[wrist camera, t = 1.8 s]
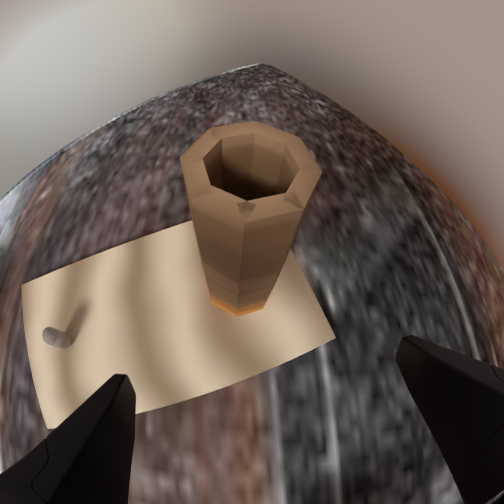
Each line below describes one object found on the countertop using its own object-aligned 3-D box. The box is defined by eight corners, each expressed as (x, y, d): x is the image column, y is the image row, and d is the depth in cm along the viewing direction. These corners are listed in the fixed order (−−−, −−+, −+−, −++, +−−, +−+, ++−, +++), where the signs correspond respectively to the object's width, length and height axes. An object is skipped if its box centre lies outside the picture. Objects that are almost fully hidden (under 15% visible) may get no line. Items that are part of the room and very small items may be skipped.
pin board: (262, 207, 27) (267, 173, 22) (329, 340, 21) (353, 329, 17) (29, 290, 21) (1, 271, 16) (56, 427, 15) (24, 431, 11)
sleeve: (281, 271, 22) (332, 151, 10) (253, 326, 20) (286, 243, 8) (227, 244, 23) (227, 112, 11) (195, 295, 21) (156, 183, 9)
